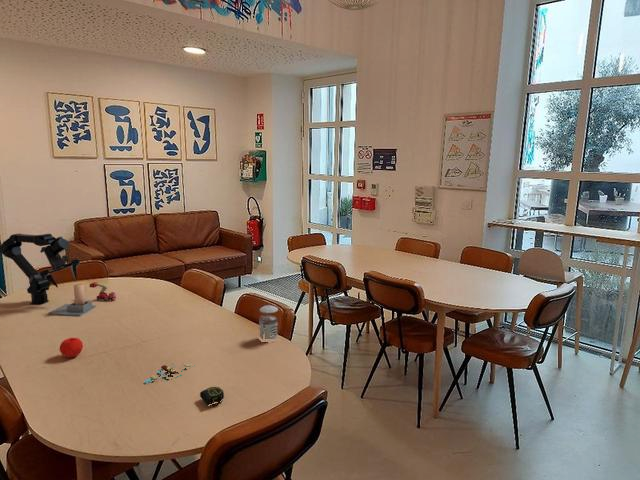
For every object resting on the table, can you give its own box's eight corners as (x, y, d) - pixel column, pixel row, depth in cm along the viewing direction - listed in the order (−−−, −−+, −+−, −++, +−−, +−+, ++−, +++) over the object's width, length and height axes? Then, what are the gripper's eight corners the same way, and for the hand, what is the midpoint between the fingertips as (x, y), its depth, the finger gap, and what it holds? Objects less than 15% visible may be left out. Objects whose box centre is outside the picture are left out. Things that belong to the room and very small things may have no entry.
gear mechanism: (137, 379, 154) (150, 388, 148) (136, 365, 153) (150, 374, 148) (186, 361, 169) (200, 369, 163) (186, 348, 169) (200, 356, 163)
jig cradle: (48, 314, 213) (47, 307, 212) (65, 305, 227) (65, 298, 226) (80, 316, 212) (79, 308, 212) (95, 307, 226) (95, 299, 226)
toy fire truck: (113, 301, 236) (112, 284, 234) (90, 300, 237) (89, 283, 235) (117, 299, 239) (116, 283, 237) (93, 298, 240) (92, 281, 239)
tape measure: (199, 399, 142) (199, 389, 141) (219, 394, 146) (219, 383, 145) (206, 409, 136) (206, 398, 136) (227, 403, 140) (226, 393, 140)
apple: (59, 362, 164) (58, 344, 163) (60, 354, 171) (59, 336, 170) (83, 358, 168) (82, 340, 167) (83, 350, 175) (82, 333, 174)
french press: (283, 337, 195) (284, 283, 191) (270, 346, 185) (270, 290, 181) (265, 332, 199) (265, 280, 195) (250, 341, 189) (251, 286, 185)
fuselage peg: (75, 311, 216) (74, 287, 214) (75, 308, 220) (73, 284, 218) (85, 309, 219) (84, 286, 216) (84, 307, 222) (83, 284, 220)
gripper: (34, 259, 210) (48, 288, 210) (74, 245, 222) (88, 272, 222) (33, 264, 219) (47, 292, 219) (71, 251, 231) (84, 277, 231)
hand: (67, 283), depth 222 cm, fingers open, 9 cm apart
